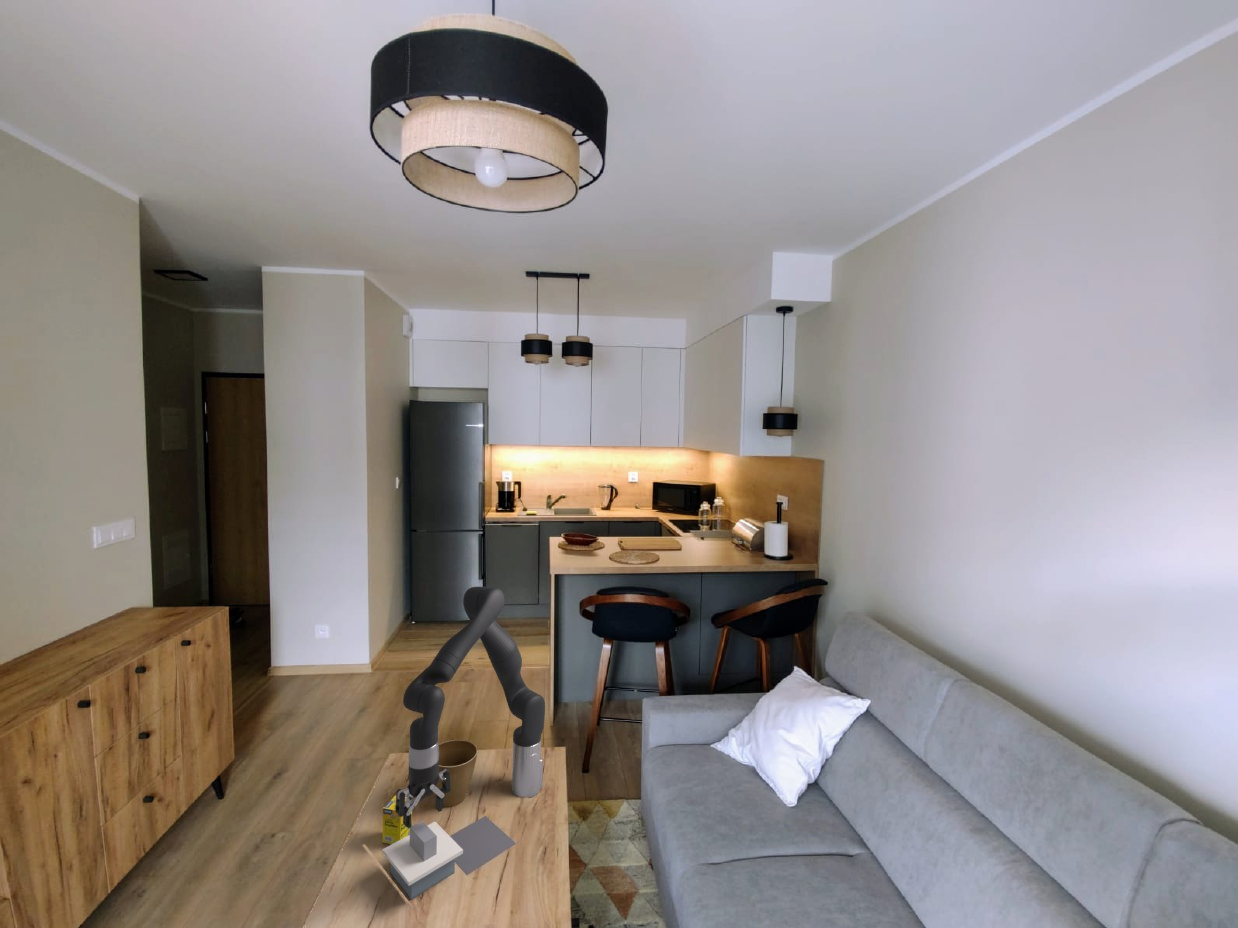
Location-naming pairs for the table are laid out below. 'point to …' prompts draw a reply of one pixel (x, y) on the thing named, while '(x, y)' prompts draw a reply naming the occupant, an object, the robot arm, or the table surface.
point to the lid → (422, 851)
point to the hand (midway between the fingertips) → (423, 818)
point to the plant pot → (457, 768)
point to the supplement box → (393, 824)
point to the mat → (480, 844)
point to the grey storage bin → (424, 879)
